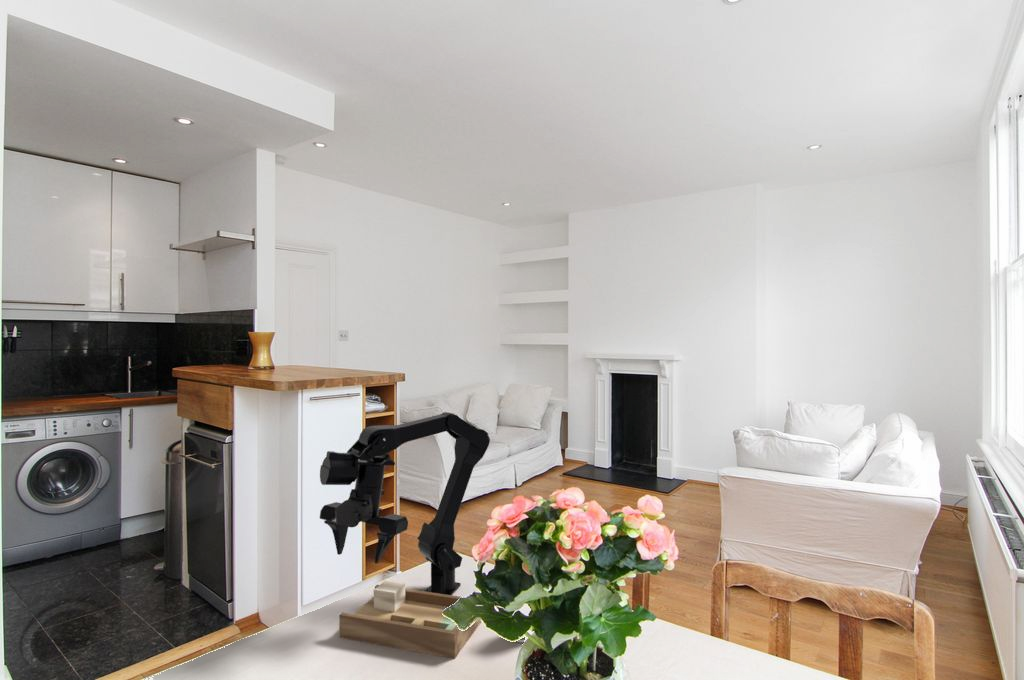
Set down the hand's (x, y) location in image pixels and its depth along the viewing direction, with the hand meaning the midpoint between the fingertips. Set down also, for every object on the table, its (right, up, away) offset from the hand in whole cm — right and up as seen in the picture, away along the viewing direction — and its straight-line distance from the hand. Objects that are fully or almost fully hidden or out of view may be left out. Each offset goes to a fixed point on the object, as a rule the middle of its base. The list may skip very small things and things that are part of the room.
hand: (357, 558), depth 116 cm
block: (+7, -10, -1) cm, 12 cm away
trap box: (+12, -12, -5) cm, 18 cm away
